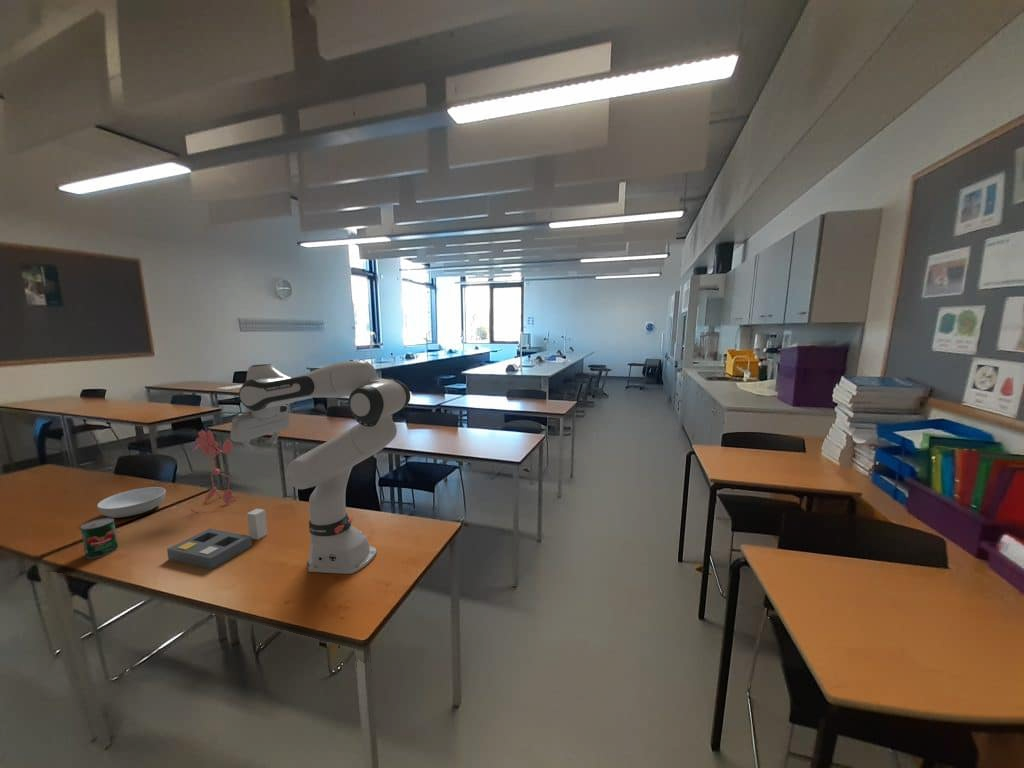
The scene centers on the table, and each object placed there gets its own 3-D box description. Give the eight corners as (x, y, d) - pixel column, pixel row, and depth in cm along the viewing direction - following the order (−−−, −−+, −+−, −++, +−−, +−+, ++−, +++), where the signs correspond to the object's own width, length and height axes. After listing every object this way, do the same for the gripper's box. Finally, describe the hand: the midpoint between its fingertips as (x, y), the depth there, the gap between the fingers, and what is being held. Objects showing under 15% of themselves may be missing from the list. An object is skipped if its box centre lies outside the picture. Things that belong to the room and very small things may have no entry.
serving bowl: (84, 523, 152) (81, 507, 151) (137, 500, 173) (134, 486, 172) (133, 524, 151) (130, 508, 150) (180, 501, 172) (178, 487, 171)
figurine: (210, 493, 180) (201, 423, 174) (250, 501, 172) (241, 428, 166) (174, 508, 165) (161, 432, 160) (215, 517, 157) (204, 437, 152)
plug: (267, 534, 144) (265, 509, 142) (257, 539, 140) (255, 514, 139) (259, 532, 145) (256, 508, 143) (249, 538, 141) (247, 513, 140)
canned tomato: (106, 544, 137) (102, 516, 135) (124, 546, 135) (120, 518, 134) (78, 557, 129) (73, 527, 127) (97, 559, 128) (92, 529, 126)
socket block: (252, 546, 136) (250, 535, 135) (212, 569, 122) (210, 557, 122) (211, 538, 141) (209, 527, 140) (168, 559, 128) (166, 548, 127)
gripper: (240, 417, 120) (240, 457, 122) (292, 405, 139) (292, 440, 141) (225, 413, 121) (225, 454, 123) (279, 402, 141) (278, 437, 143)
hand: (261, 446), depth 133 cm, fingers open, 8 cm apart
